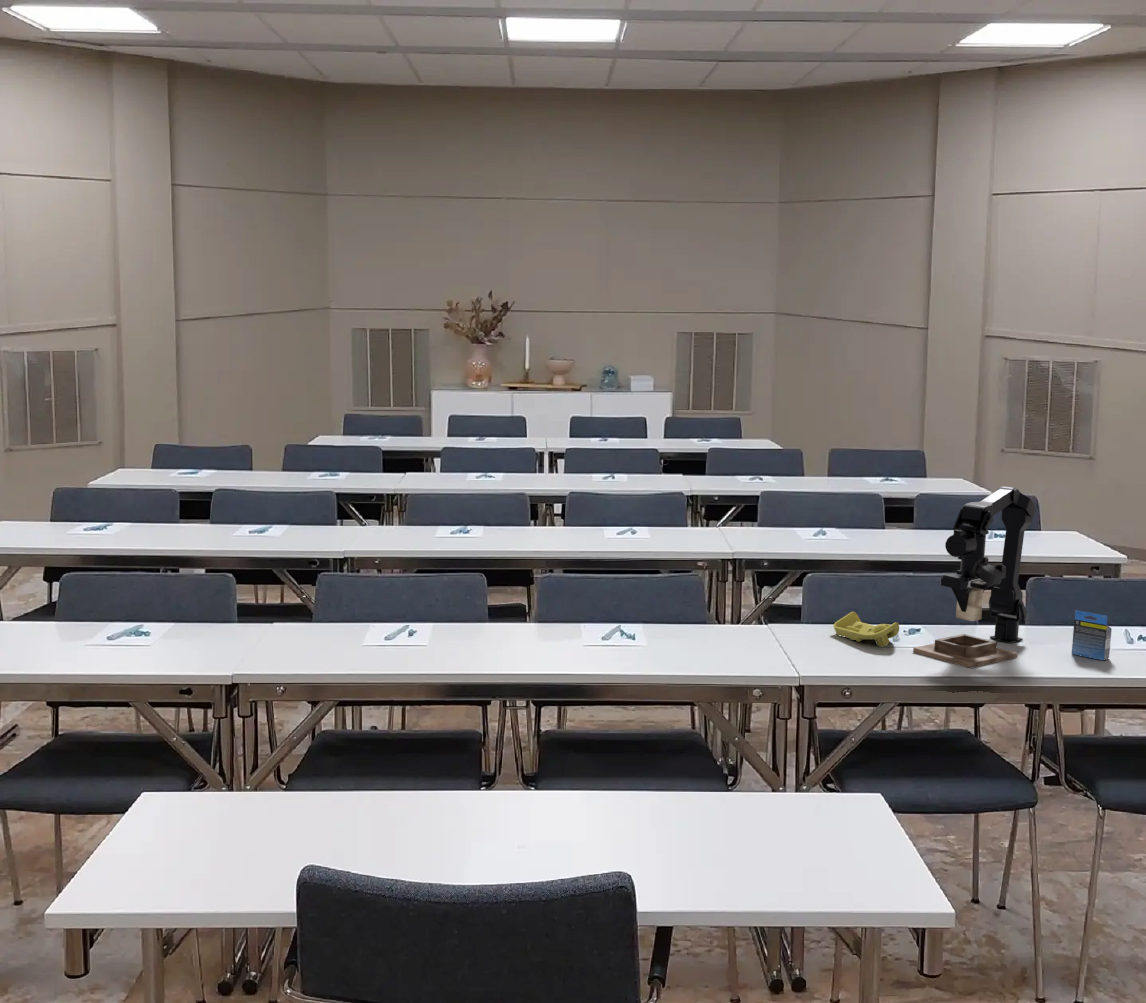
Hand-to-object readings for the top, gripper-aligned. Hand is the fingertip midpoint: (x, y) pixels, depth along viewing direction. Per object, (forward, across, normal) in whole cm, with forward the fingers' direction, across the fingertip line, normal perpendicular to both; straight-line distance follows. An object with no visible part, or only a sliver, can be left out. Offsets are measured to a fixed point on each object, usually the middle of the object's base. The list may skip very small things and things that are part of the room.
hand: (968, 610), depth 337 cm
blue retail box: (+12, +28, -19) cm, 36 cm away
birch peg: (+2, 0, 0) cm, 2 cm away
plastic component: (+12, -11, +24) cm, 29 cm away
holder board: (+12, 0, 0) cm, 12 cm away
